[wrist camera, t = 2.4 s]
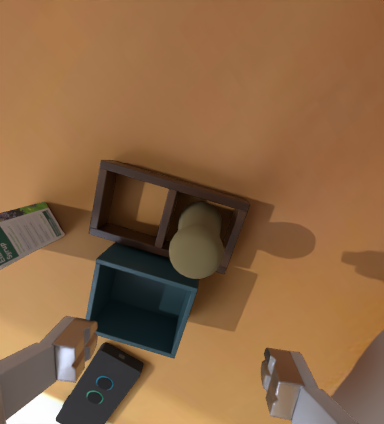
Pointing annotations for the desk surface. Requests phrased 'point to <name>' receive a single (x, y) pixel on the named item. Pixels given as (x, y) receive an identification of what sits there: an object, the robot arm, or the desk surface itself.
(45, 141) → the desk surface
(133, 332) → the bin
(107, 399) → the smart home device
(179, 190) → the holder
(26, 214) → the syrup box
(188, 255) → the olive pepper mill
